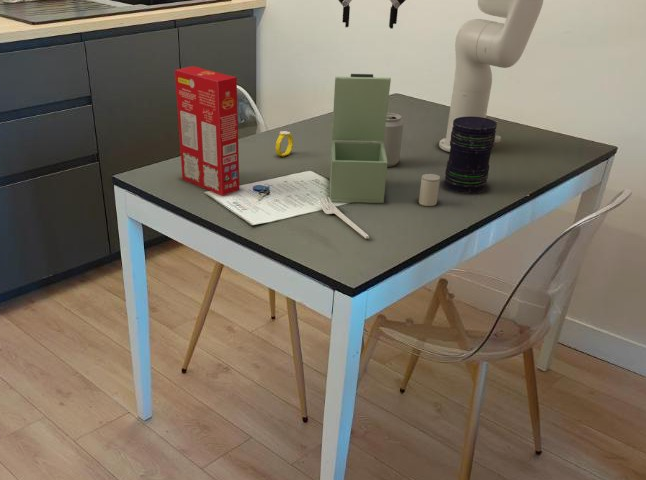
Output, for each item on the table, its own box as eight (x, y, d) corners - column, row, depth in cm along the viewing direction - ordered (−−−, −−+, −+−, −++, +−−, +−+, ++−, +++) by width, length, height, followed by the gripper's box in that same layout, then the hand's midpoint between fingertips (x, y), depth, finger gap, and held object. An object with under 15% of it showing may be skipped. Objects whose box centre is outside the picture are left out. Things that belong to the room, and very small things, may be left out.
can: (398, 168, 176) (403, 120, 169) (368, 166, 177) (372, 118, 170) (400, 159, 182) (405, 112, 175) (371, 157, 183) (375, 110, 176)
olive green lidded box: (383, 203, 158) (387, 162, 152) (329, 201, 158) (331, 161, 153) (379, 180, 169) (383, 142, 164) (329, 179, 170) (331, 141, 164)
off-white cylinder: (435, 199, 160) (439, 174, 156) (437, 206, 156) (441, 180, 153) (417, 199, 160) (420, 173, 156) (419, 205, 156) (422, 179, 153)
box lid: (390, 79, 152) (389, 67, 156) (335, 78, 153) (335, 66, 157) (383, 141, 163) (382, 129, 167) (331, 140, 164) (331, 127, 168)
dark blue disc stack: (435, 182, 169) (444, 118, 160) (469, 176, 172) (479, 114, 163) (459, 196, 161) (470, 131, 153) (494, 190, 164) (506, 126, 156)
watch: (281, 159, 182) (282, 136, 178) (273, 157, 183) (273, 134, 179) (295, 153, 186) (295, 130, 182) (286, 151, 187) (286, 128, 183)
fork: (360, 241, 141) (361, 233, 140) (316, 206, 156) (316, 198, 155) (374, 239, 142) (375, 230, 141) (329, 203, 157) (330, 195, 156)
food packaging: (239, 189, 164) (236, 77, 150) (222, 195, 161) (217, 81, 146) (199, 173, 172) (193, 66, 158) (182, 179, 169) (174, 69, 155)
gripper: (416, -65, 146) (407, 25, 156) (334, -67, 147) (329, 23, 157) (420, -63, 140) (409, 31, 150) (333, -64, 141) (329, 28, 151)
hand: (368, 26), depth 153 cm, fingers open, 9 cm apart
